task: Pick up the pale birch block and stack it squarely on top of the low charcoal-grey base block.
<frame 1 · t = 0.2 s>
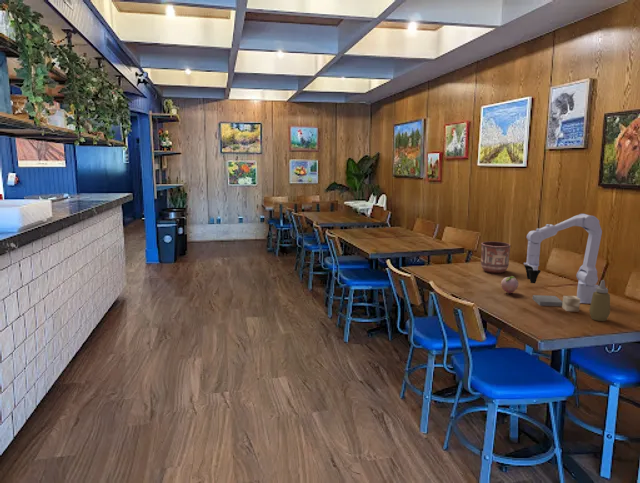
hand: (531, 281, 232), 10 cm above the table, tool pointing down, fingers open, 7 cm apart
charcoal base: (547, 303, 230), on the table
decorative fruit: (508, 293, 245), on the table
pottery: (493, 271, 294), on the table
birch cube: (570, 309, 219), on the table
squeeze bottle: (598, 319, 206), on the table
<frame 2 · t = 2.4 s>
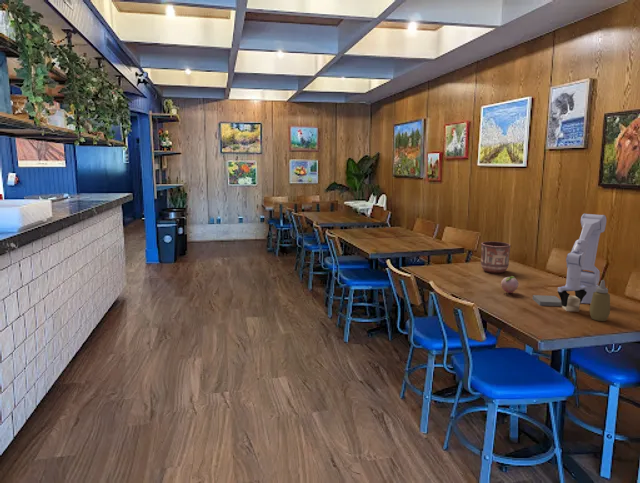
hand: (570, 305, 219), 2 cm above the table, tool pointing down, fingers closed on birch cube, 7 cm apart
birch cube: (570, 309, 219), on the table, touching gripper
everything else where it was.
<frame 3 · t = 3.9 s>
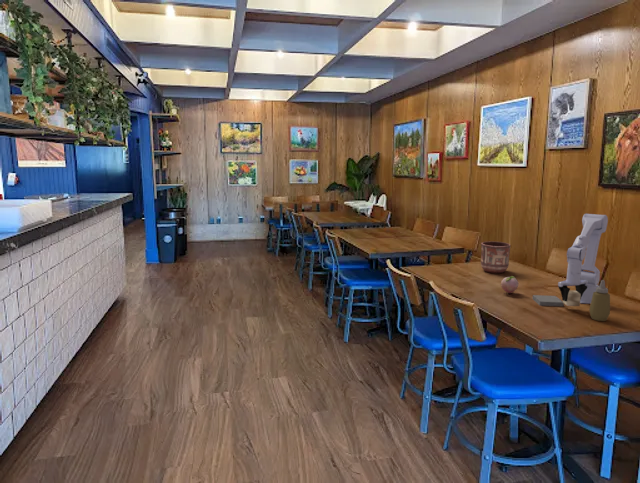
hand: (571, 300, 218), 5 cm above the table, tool pointing down, fingers closed on birch cube, 7 cm apart
birch cube: (570, 304, 219), point 3 cm above the table, touching gripper
everything else where it was.
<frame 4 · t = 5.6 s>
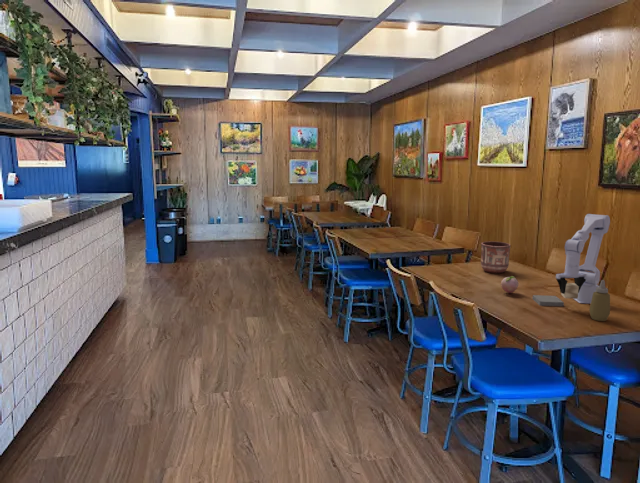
hand: (569, 292, 219), 8 cm above the table, tool pointing down, fingers closed on birch cube, 7 cm apart
birch cube: (569, 296, 219), point 6 cm above the table, touching gripper
everything else where it was.
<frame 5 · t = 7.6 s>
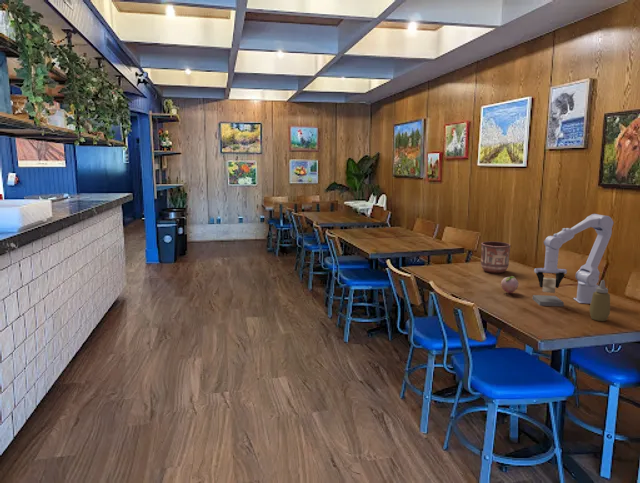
hand: (548, 287, 228), 8 cm above the table, tool pointing down, fingers closed on birch cube, 7 cm apart
birch cube: (548, 290, 229), point 6 cm above the table, touching gripper
everything else where it was.
when the fingers open (6 cm above the table, at t = 9.1 s): birch cube drops 2 cm, point 2 cm above the table.
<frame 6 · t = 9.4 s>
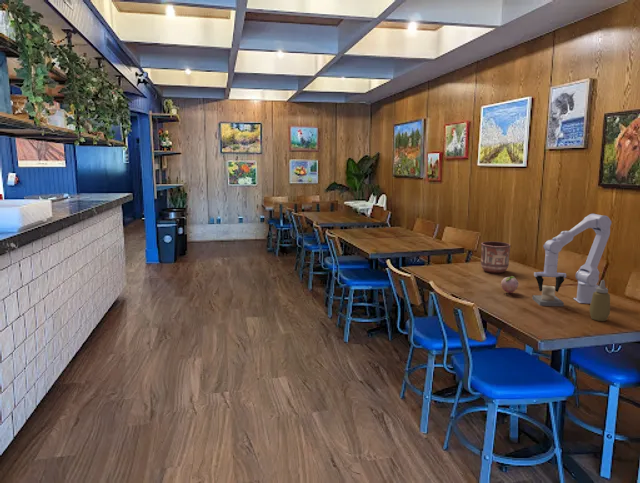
hand: (548, 291, 229), 6 cm above the table, tool pointing down, fingers open, 7 cm apart
birch cube: (547, 298, 229), point 2 cm above the table
everything else where it was.
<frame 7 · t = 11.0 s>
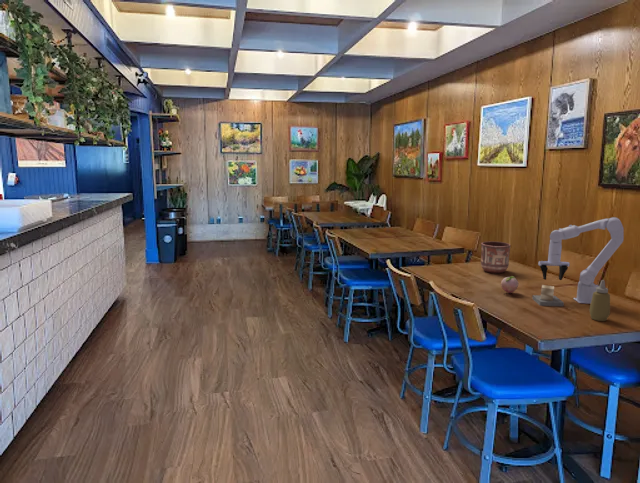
hand: (552, 279, 237), 9 cm above the table, tool pointing down, fingers open, 7 cm apart
nothing on the table moved.
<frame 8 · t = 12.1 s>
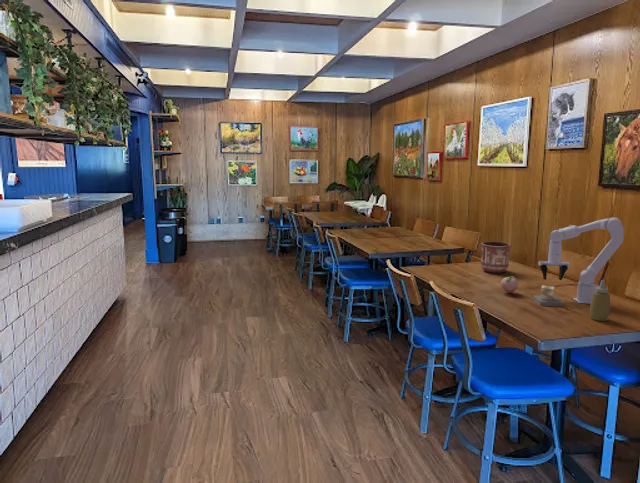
hand: (552, 279, 237), 9 cm above the table, tool pointing down, fingers open, 7 cm apart
charcoal base: (547, 303, 230), on the table, touching birch cube
birch cube: (546, 298, 230), point 2 cm above the table, touching charcoal base
everything else where it was.
at the end: birch cube 0.5 cm off-centre on the charcoal base, point 2.5 cm above the charcoal base's base; birch cube tilted 0°; the gripper is holding nothing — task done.
